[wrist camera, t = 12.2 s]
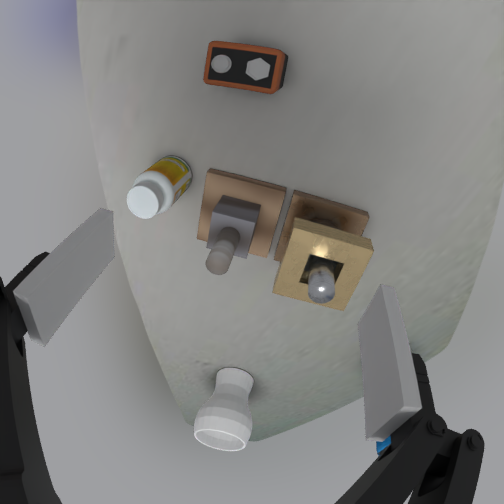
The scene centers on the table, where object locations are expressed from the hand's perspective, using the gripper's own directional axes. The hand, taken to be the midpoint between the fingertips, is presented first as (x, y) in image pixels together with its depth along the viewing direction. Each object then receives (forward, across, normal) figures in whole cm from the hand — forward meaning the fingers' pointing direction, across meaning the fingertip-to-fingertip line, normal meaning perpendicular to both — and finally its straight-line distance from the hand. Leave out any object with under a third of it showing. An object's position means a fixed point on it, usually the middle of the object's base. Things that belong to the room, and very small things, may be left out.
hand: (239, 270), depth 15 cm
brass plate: (+20, +8, -11) cm, 24 cm away
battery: (+27, -5, +8) cm, 29 cm away
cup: (+27, +3, -48) cm, 55 cm away
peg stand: (+27, +8, -11) cm, 30 cm away
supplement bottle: (+27, -13, -8) cm, 31 cm away
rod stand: (+27, -3, -11) cm, 29 cm away
